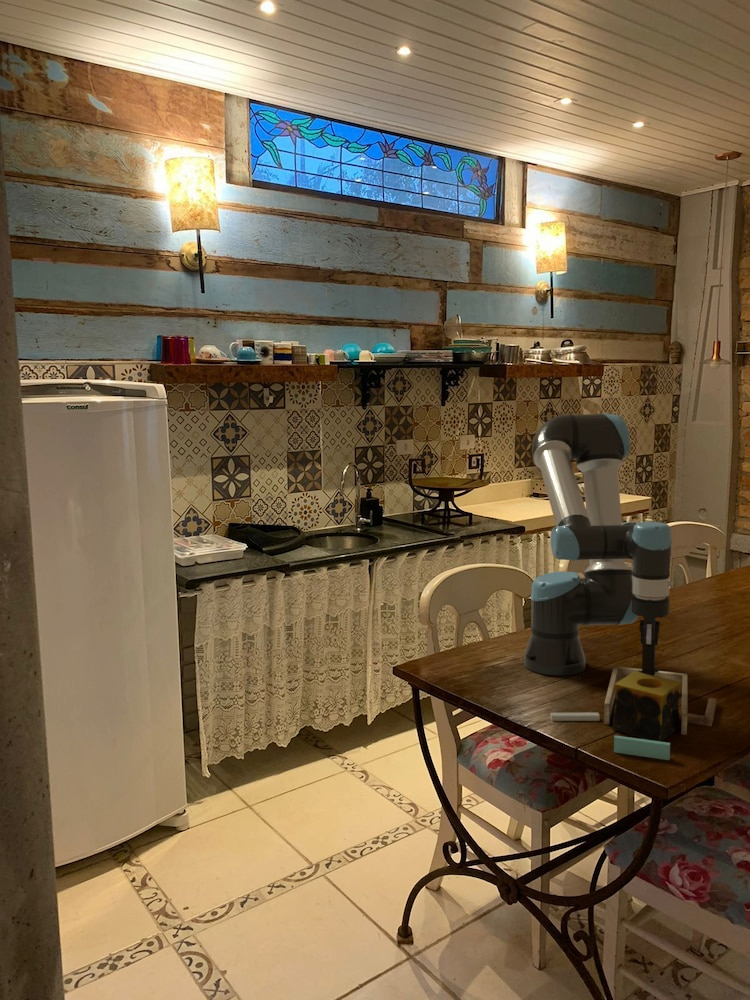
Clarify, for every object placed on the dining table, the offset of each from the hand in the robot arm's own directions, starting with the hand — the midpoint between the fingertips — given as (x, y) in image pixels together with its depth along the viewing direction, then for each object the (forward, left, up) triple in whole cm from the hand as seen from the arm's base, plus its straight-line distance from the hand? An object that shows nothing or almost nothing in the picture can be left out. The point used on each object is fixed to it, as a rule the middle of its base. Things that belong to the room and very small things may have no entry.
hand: (647, 702), depth 168 cm
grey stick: (-14, -9, -3) cm, 17 cm away
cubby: (0, +2, -2) cm, 3 cm away
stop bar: (0, -21, -2) cm, 22 cm away
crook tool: (+11, +3, -2) cm, 11 cm away
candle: (0, -9, -2) cm, 9 cm away
